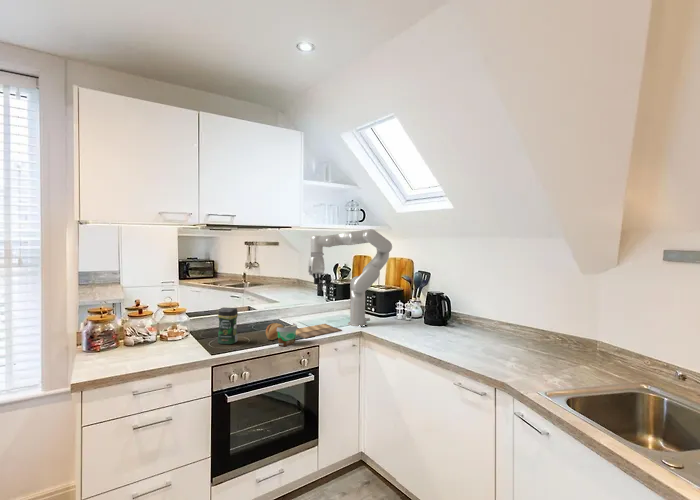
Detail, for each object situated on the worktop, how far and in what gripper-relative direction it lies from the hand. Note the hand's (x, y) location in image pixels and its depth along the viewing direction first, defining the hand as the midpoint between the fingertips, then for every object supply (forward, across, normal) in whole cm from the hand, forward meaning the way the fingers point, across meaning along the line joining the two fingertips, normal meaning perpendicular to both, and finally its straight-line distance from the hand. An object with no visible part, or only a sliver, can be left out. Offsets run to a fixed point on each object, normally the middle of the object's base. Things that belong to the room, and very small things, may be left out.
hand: (316, 284), depth 227 cm
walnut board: (+27, +10, +18) cm, 34 cm away
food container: (+27, +35, +24) cm, 50 cm away
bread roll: (+27, +34, +7) cm, 44 cm away
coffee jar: (+27, +58, 0) cm, 64 cm away
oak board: (+26, +10, +9) cm, 30 cm away
